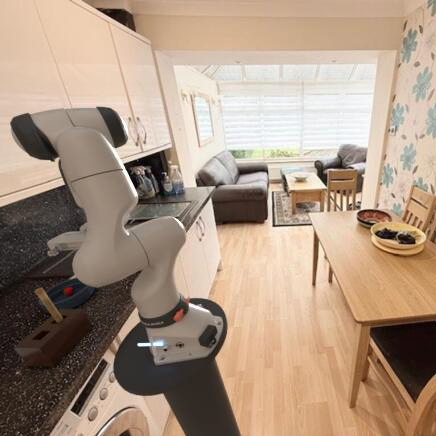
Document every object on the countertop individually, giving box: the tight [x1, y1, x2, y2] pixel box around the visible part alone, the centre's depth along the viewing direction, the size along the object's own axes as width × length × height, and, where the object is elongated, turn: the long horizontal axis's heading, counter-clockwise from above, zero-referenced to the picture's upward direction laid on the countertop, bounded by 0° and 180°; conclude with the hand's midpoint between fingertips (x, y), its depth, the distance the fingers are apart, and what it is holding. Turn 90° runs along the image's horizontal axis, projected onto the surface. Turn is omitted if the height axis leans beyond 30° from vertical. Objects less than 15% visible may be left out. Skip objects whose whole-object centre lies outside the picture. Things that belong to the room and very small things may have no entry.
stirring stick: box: [34, 287, 64, 324], centre depth 72 cm, size 2×2×20 cm
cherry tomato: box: [64, 287, 74, 295], centre depth 93 cm, size 3×3×3 cm
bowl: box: [38, 278, 96, 315], centre depth 91 cm, size 15×15×5 cm
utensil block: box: [13, 308, 94, 368], centre depth 72 cm, size 8×14×8 cm, turn 176°
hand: (65, 253), depth 76 cm, fingers open, 8 cm apart
